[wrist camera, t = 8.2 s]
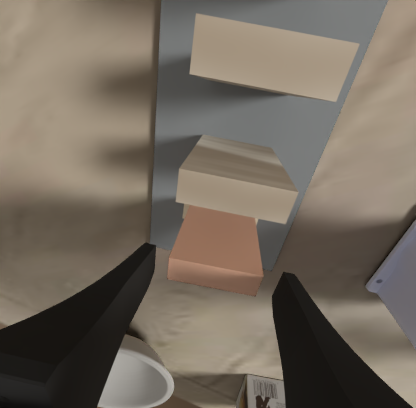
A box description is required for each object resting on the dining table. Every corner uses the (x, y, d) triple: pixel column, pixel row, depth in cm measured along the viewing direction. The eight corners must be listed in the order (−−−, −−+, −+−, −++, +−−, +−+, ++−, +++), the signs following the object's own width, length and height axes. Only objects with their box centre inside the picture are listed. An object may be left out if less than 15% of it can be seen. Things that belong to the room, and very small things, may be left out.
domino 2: (265, 169, 16) (285, 224, 10) (199, 156, 16) (175, 201, 10) (271, 147, 15) (298, 192, 9) (203, 134, 16) (179, 168, 9)
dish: (133, 287, 25) (111, 329, 21) (205, 352, 30) (200, 398, 25) (49, 328, 31) (19, 367, 27) (120, 377, 36) (104, 417, 32)
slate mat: (270, 267, 21) (271, 271, 21) (151, 242, 21) (149, 245, 21) (593, -497, 6) (621, -542, 6) (192, -550, 7) (189, -598, 6)
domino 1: (288, 95, 14) (335, 101, 7) (211, 80, 14) (189, 74, 7) (297, 66, 13) (359, 43, 6) (215, 50, 13) (195, 13, 7)
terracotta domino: (248, 222, 19) (255, 296, 12) (191, 211, 19) (167, 279, 12) (253, 206, 18) (263, 276, 11) (193, 195, 18) (169, 257, 11)
